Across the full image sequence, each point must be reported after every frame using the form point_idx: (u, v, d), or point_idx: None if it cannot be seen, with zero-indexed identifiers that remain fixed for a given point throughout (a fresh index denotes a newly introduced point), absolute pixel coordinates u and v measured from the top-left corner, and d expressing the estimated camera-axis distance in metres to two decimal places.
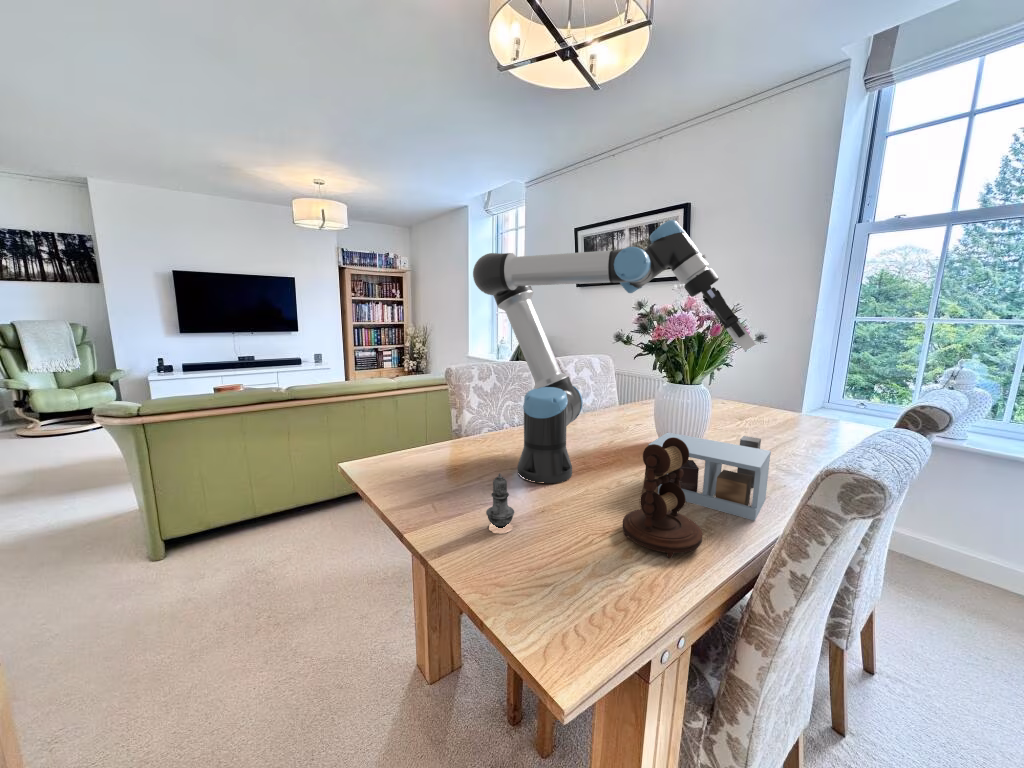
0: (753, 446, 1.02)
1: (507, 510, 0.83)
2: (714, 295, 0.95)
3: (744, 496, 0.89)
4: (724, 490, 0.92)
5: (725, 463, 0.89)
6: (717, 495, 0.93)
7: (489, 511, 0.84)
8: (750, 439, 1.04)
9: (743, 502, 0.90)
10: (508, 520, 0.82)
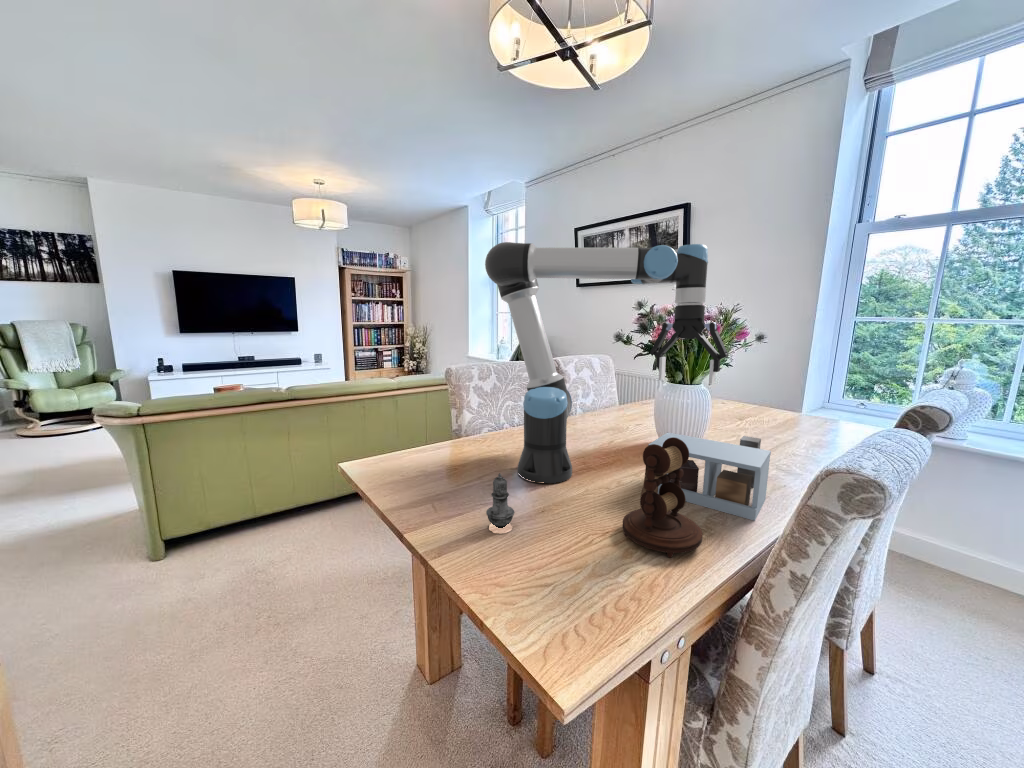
0: (753, 446, 1.02)
1: (507, 510, 0.83)
2: (715, 329, 1.07)
3: (744, 496, 0.89)
4: (724, 490, 0.92)
5: (725, 463, 0.89)
6: (717, 495, 0.93)
7: (489, 511, 0.84)
8: (750, 439, 1.04)
9: (743, 502, 0.90)
10: (508, 520, 0.82)
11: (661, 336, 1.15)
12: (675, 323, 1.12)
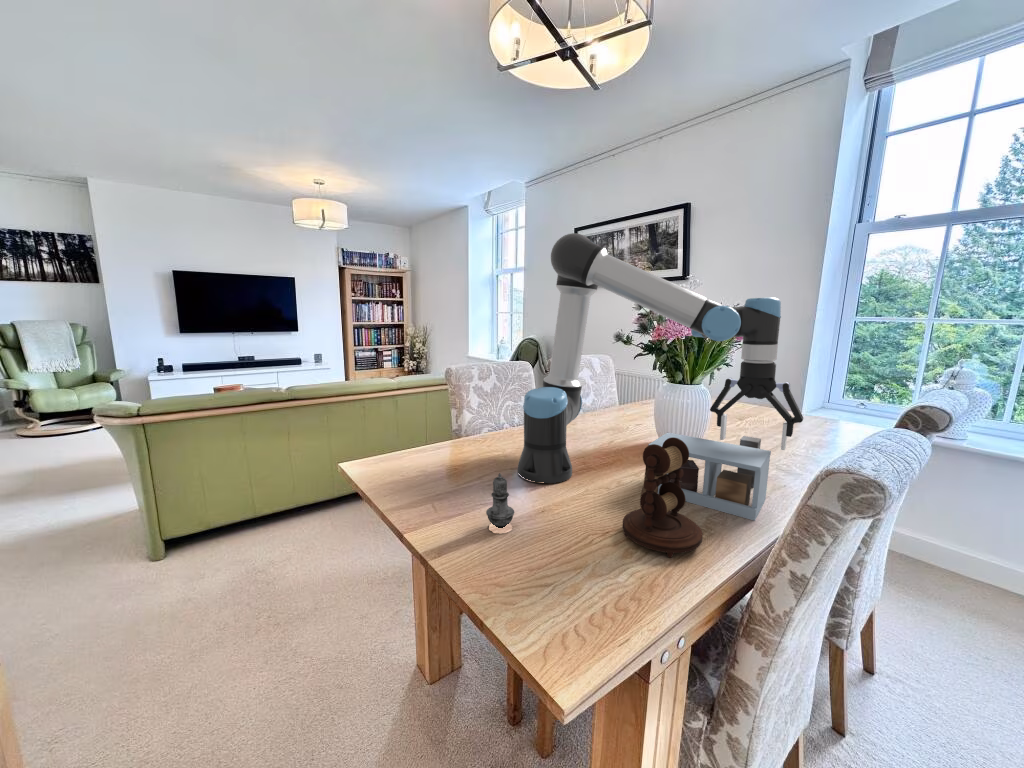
0: (753, 446, 1.02)
1: (507, 510, 0.83)
2: (789, 389, 0.98)
3: (744, 496, 0.89)
4: (724, 490, 0.92)
5: (725, 463, 0.89)
6: (717, 495, 0.93)
7: (489, 511, 0.84)
8: (750, 439, 1.04)
9: (743, 502, 0.90)
10: (508, 520, 0.82)
11: (724, 393, 1.06)
12: (741, 380, 1.03)
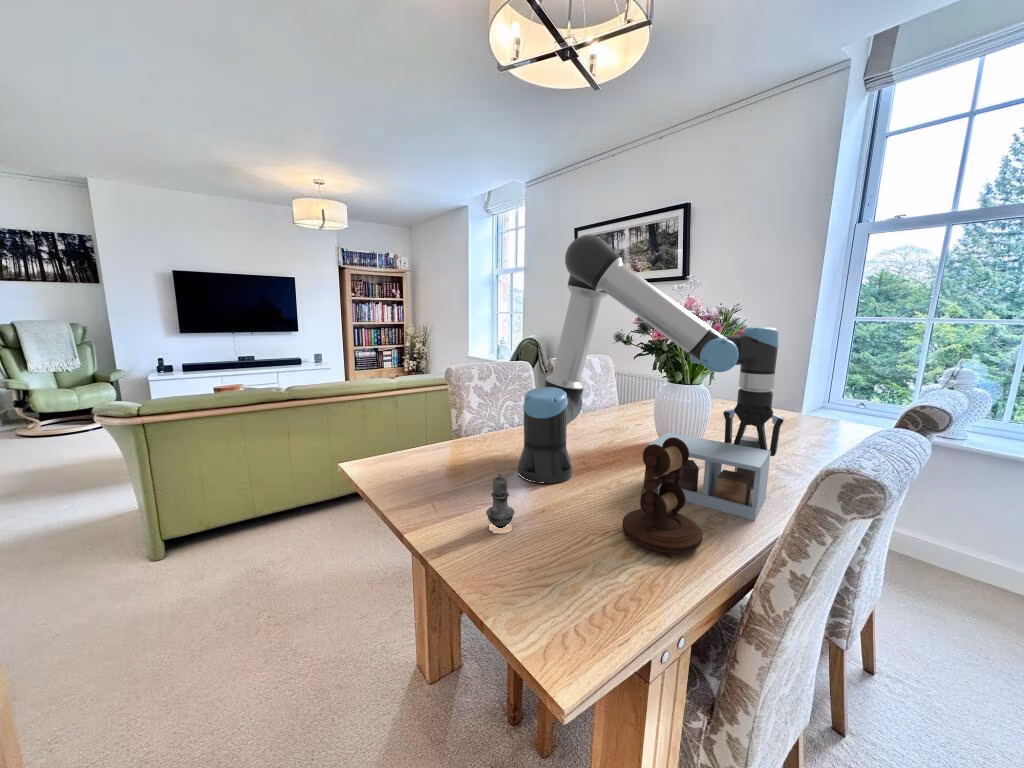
0: (753, 446, 1.02)
1: (507, 510, 0.83)
2: None
3: (744, 496, 0.89)
4: (724, 490, 0.92)
5: (725, 463, 0.89)
6: (717, 495, 0.93)
7: (489, 511, 0.84)
8: (750, 439, 1.04)
9: (743, 502, 0.90)
10: (508, 520, 0.82)
11: (728, 426, 1.06)
12: (738, 407, 1.04)
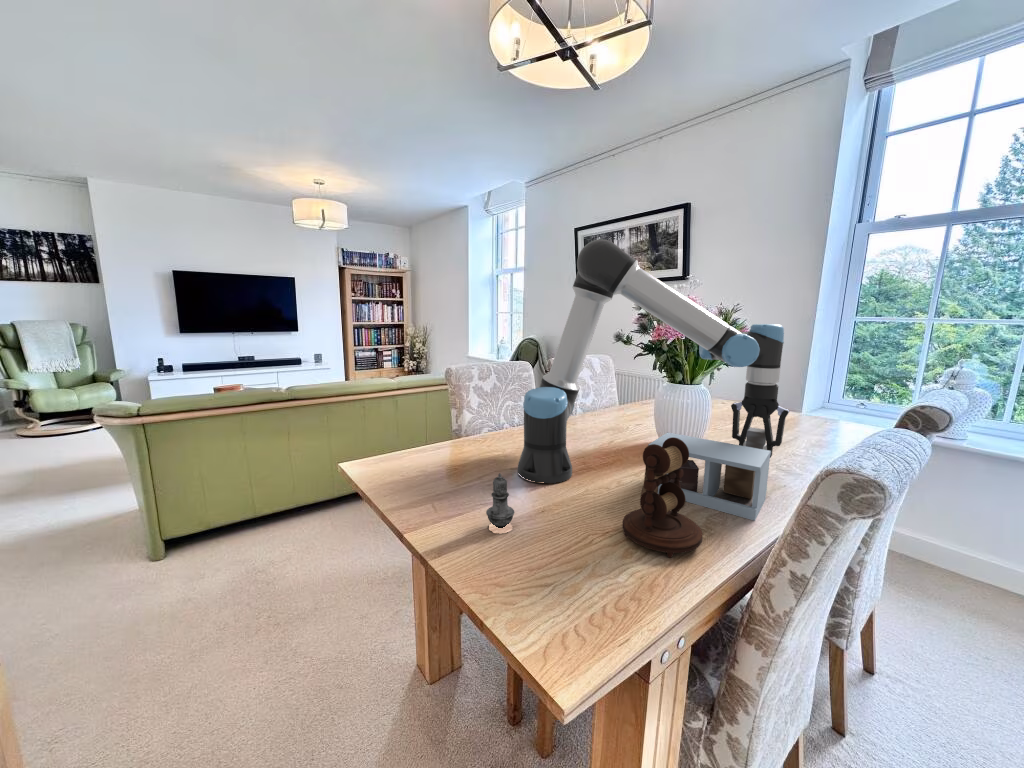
0: (759, 437, 1.08)
1: (507, 510, 0.83)
2: None
3: (751, 482, 0.95)
4: (732, 477, 0.98)
5: (725, 463, 0.89)
6: (725, 482, 0.99)
7: (489, 511, 0.84)
8: (756, 430, 1.09)
9: (750, 488, 0.95)
10: (508, 520, 0.82)
11: (736, 418, 1.12)
12: (745, 400, 1.10)
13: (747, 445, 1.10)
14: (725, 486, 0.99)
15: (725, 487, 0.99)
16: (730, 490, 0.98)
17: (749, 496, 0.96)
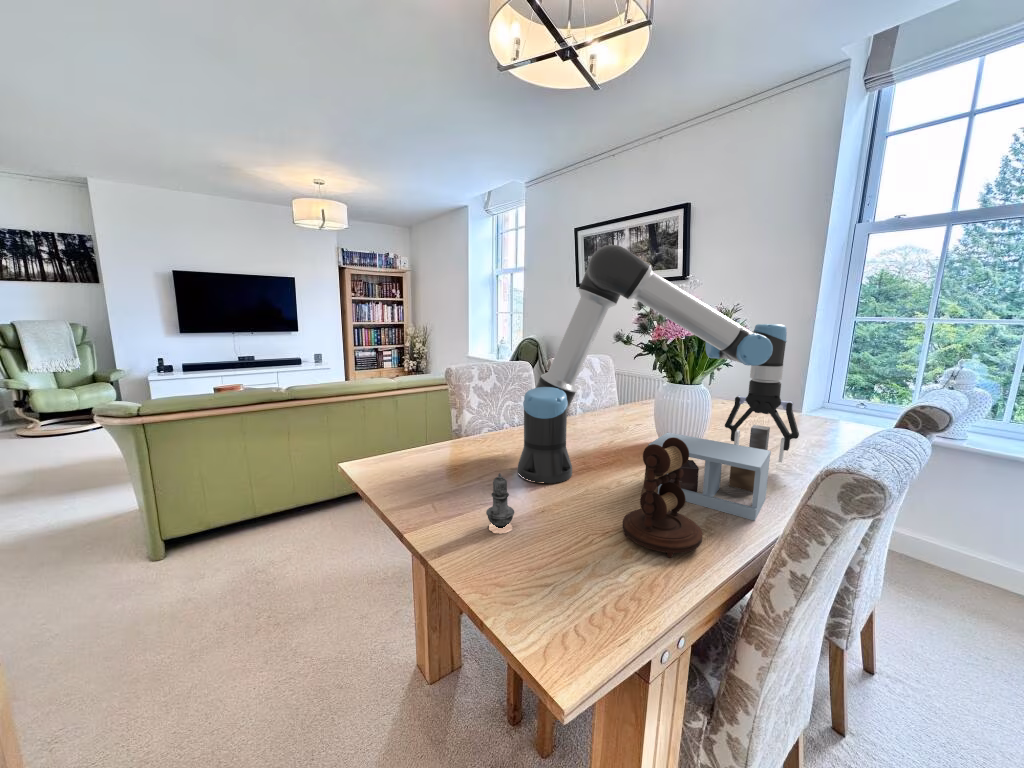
0: (763, 433, 1.13)
1: (507, 510, 0.83)
2: (791, 408, 1.10)
3: None
4: (737, 471, 1.03)
5: (725, 463, 0.89)
6: (731, 476, 1.04)
7: (489, 511, 0.84)
8: (760, 427, 1.14)
9: None
10: (508, 520, 0.82)
11: (735, 410, 1.17)
12: (749, 397, 1.14)
13: (751, 442, 1.15)
14: (731, 480, 1.04)
15: (731, 481, 1.04)
16: (735, 484, 1.03)
17: None
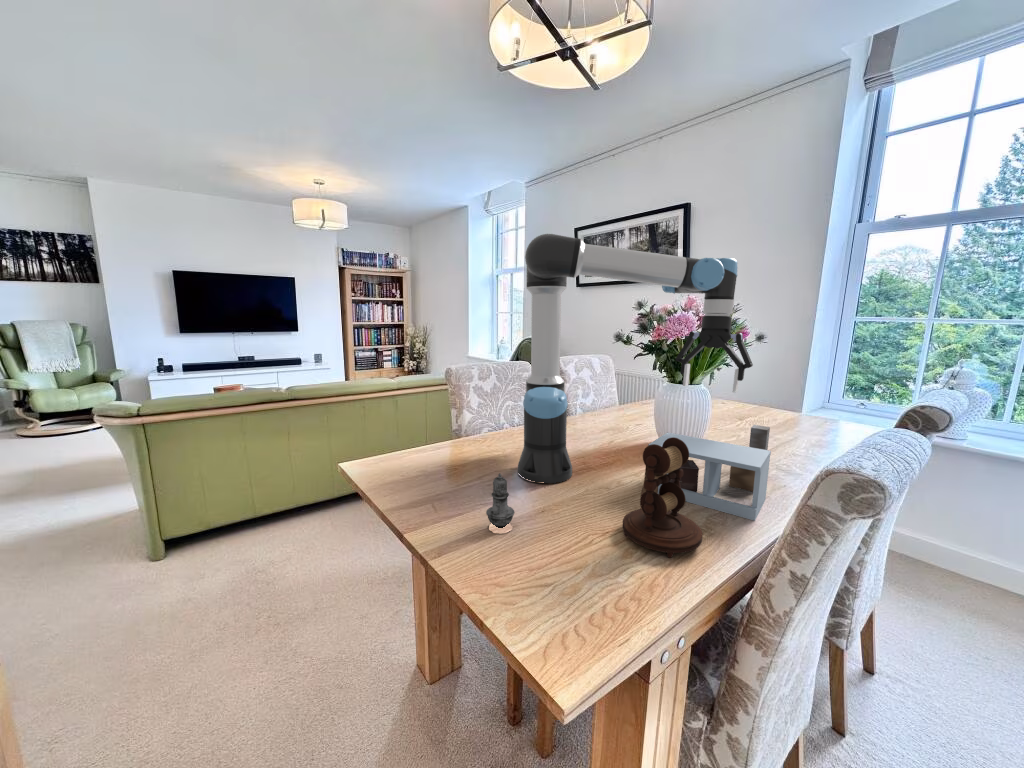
0: (763, 433, 1.13)
1: (507, 510, 0.83)
2: (741, 339, 1.12)
3: None
4: (737, 471, 1.03)
5: (725, 463, 0.89)
6: (731, 476, 1.04)
7: (489, 511, 0.84)
8: (760, 427, 1.14)
9: None
10: (508, 520, 0.82)
11: (687, 344, 1.20)
12: (702, 332, 1.17)
13: (751, 442, 1.15)
14: (731, 480, 1.04)
15: (731, 481, 1.04)
16: (735, 484, 1.03)
17: None
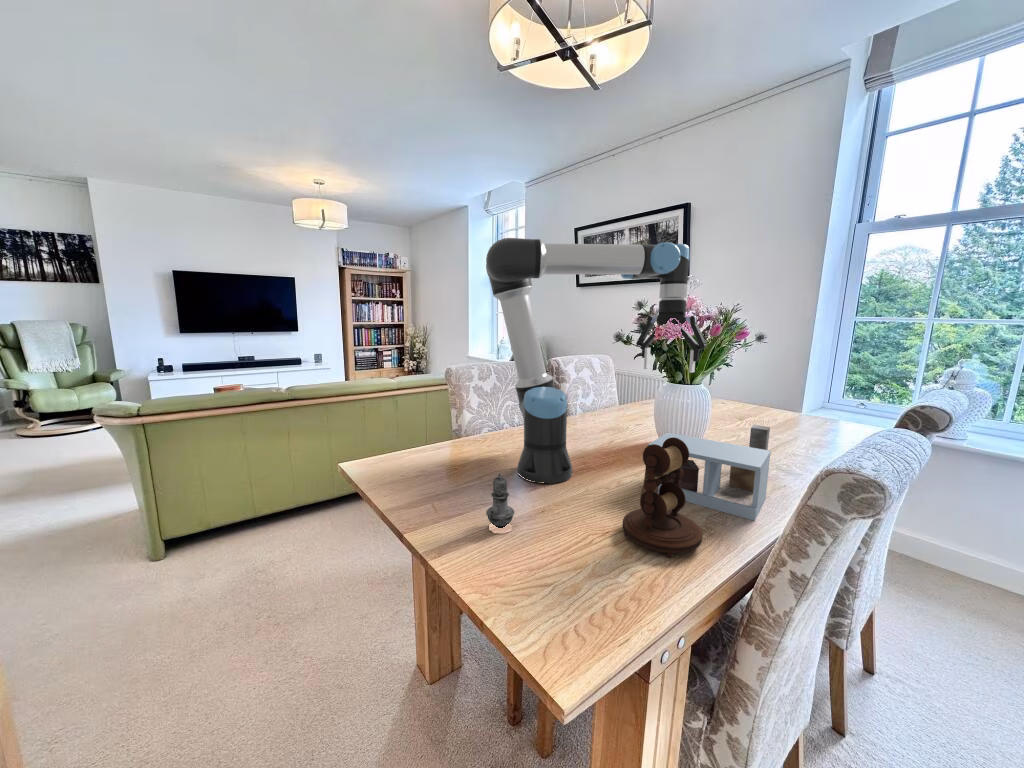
0: (763, 433, 1.13)
1: (507, 510, 0.83)
2: (695, 322, 1.17)
3: None
4: (737, 471, 1.03)
5: (725, 463, 0.89)
6: (731, 476, 1.04)
7: (489, 511, 0.84)
8: (760, 427, 1.14)
9: None
10: (508, 520, 0.82)
11: (646, 328, 1.25)
12: (659, 316, 1.22)
13: (751, 442, 1.15)
14: (731, 480, 1.04)
15: (731, 481, 1.04)
16: (735, 484, 1.03)
17: None
